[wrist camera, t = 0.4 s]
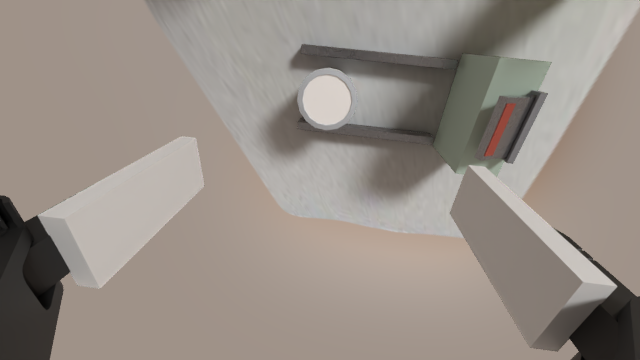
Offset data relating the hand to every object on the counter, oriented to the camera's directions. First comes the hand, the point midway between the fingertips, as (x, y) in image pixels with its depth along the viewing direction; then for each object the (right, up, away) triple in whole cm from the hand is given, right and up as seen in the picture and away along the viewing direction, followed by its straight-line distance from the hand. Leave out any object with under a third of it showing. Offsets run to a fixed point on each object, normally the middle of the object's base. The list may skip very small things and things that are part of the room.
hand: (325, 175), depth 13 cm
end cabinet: (+19, +10, +21) cm, 30 cm away
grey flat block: (+17, +5, +12) cm, 22 cm away
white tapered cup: (+1, +12, +22) cm, 25 cm away
